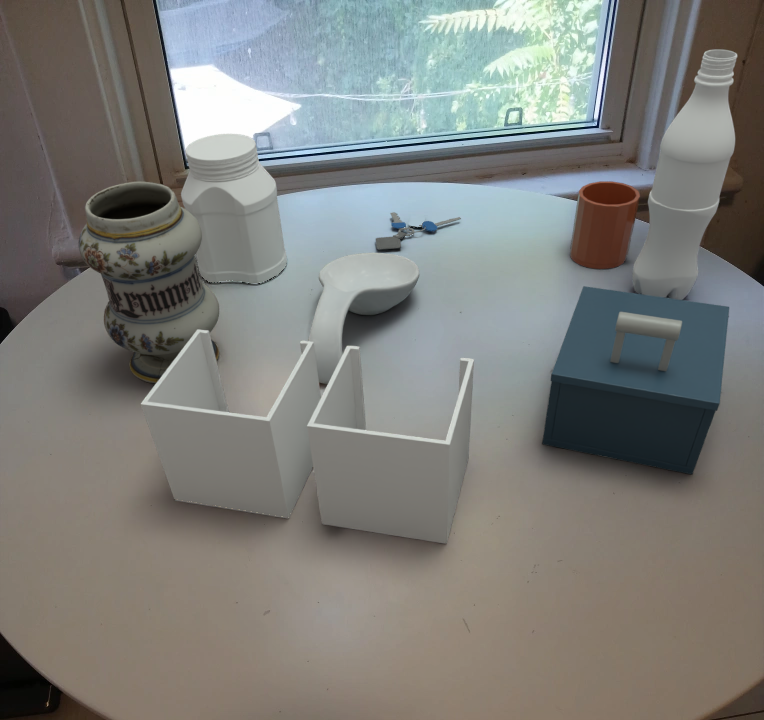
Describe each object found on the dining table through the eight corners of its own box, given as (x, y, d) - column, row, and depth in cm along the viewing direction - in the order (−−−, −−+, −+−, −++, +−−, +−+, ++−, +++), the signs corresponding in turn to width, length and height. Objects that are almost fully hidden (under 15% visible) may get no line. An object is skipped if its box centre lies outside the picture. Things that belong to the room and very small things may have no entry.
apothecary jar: (176, 404, 76) (125, 238, 63) (97, 370, 81) (35, 210, 68) (251, 346, 83) (218, 186, 70) (174, 319, 88) (130, 164, 75)
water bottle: (637, 311, 84) (694, 67, 66) (621, 280, 89) (670, 45, 71) (699, 308, 84) (774, 63, 66) (680, 277, 89) (744, 41, 71)
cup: (594, 237, 97) (604, 176, 92) (638, 255, 93) (652, 193, 88) (558, 255, 94) (566, 193, 89) (602, 275, 90) (614, 211, 85)
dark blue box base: (692, 475, 65) (717, 405, 60) (541, 444, 69) (552, 376, 64) (704, 381, 75) (726, 314, 69) (570, 359, 79) (582, 293, 73)
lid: (717, 411, 59) (737, 355, 55) (550, 381, 63) (558, 326, 59) (727, 314, 69) (745, 260, 65) (582, 293, 73) (590, 241, 69)
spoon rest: (338, 273, 94) (333, 218, 89) (428, 280, 91) (428, 224, 86) (275, 381, 78) (264, 322, 73) (382, 394, 76) (378, 334, 70)
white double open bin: (174, 500, 66) (140, 403, 58) (222, 424, 73) (197, 329, 65) (446, 543, 61) (449, 444, 53) (468, 457, 68) (474, 358, 60)
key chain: (386, 256, 96) (386, 250, 95) (347, 236, 100) (347, 230, 100) (461, 222, 102) (462, 216, 101) (421, 204, 107) (421, 198, 106)
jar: (190, 283, 94) (159, 161, 83) (212, 247, 100) (186, 131, 89) (277, 285, 92) (257, 162, 81) (294, 249, 99) (277, 131, 88)
